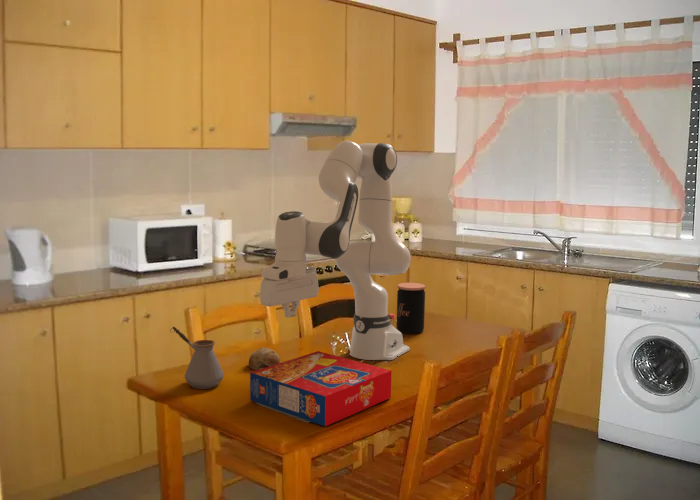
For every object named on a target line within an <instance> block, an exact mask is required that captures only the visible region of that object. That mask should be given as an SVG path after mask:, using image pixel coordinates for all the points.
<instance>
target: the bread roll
mask: <svg viewBox="0 0 700 500" xmlns="http://www.w3.org/2000/svg"><path fill="white" fill-rule="evenodd" d="M279 363H281V359H280V355H279V354H278V353H277V352H276V351H275V350H273V349H271V348H269V347H261V348H259V349H256V350H255V351H253V353H251V354H250V356H249V359H248V367H250V368H251V369H253V371H256V370H260V369H263V368H266V367H269V366H272V365H276V364H279Z"/></svg>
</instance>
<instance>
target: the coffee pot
mask: <svg viewBox="0 0 700 500" xmlns="http://www.w3.org/2000/svg"><path fill="white" fill-rule="evenodd" d="M172 330H173V333H176V334H177V335H178V336H179V338H180V339H182V340H183V341H184V342H185V343H187V344H188V345H189V346H190V347H191V348H192V349H193V350H194V351H193V354H192V357H191V359H190V361H189V364H188V367H187V369H186V370H185V373H184V379H185V381H186V383H188V385H190V386H191V387H192V388H194V389H199V390H202V389H203V390H206V389H212V388H215V387H217V386H218V385H219V383H221V381H223V379H224V376H225V374H224V371H223V369H222V367H221V364H220V361H219V360H218V358H217V355H216V353H215V352H214V345H215V344H216V342H215V340H211V339H199V340H196V341H193V342H191V340H190V339H189V338H188V337H187V336H186V335H185V334H184V333H183V332H181V331H180V329H177V327H175V326H172V328H170V330H169V331H170V333H172Z"/></svg>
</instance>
